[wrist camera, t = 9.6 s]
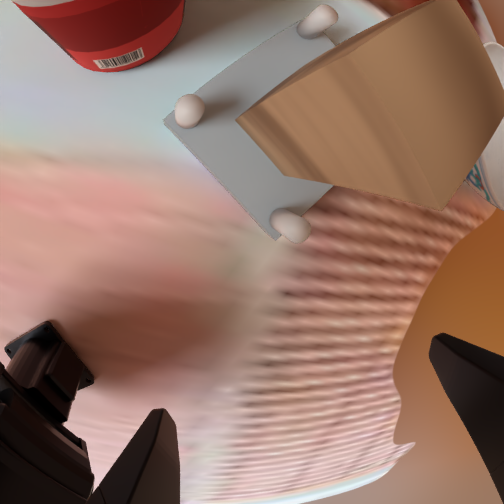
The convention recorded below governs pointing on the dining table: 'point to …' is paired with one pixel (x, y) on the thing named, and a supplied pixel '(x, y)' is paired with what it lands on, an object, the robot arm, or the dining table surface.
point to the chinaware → (491, 148)
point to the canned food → (107, 29)
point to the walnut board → (387, 109)
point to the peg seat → (239, 142)
